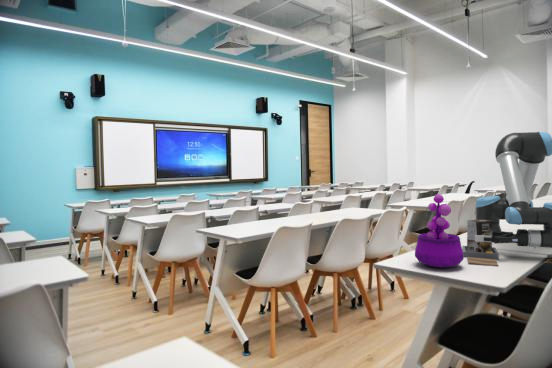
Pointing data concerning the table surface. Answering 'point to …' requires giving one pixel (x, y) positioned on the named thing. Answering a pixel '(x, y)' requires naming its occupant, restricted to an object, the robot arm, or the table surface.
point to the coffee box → (478, 229)
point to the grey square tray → (481, 254)
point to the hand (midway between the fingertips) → (473, 235)
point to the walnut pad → (482, 261)
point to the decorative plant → (439, 240)
